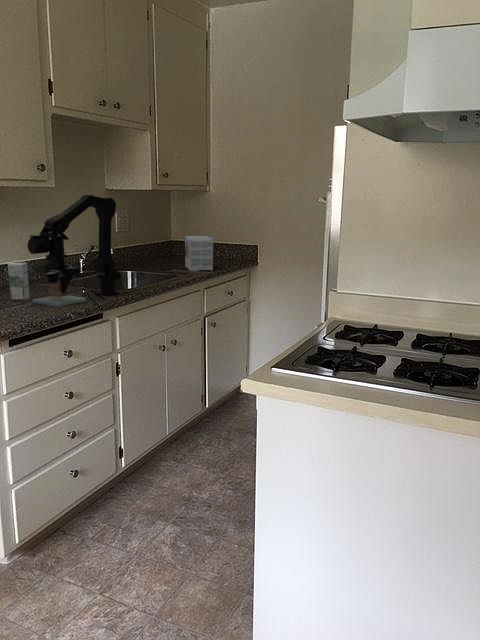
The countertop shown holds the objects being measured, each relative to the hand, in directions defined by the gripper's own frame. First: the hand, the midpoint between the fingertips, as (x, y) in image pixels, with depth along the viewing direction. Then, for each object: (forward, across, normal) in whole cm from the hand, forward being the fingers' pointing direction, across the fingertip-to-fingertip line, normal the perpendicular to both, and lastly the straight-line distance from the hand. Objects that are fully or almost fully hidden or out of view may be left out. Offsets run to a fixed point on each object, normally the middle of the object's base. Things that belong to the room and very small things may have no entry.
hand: (59, 292), depth 215 cm
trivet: (+4, 0, 0) cm, 4 cm away
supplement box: (+4, -14, +112) cm, 113 cm away
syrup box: (+4, -17, -5) cm, 18 cm away
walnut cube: (+1, 0, 0) cm, 1 cm away
